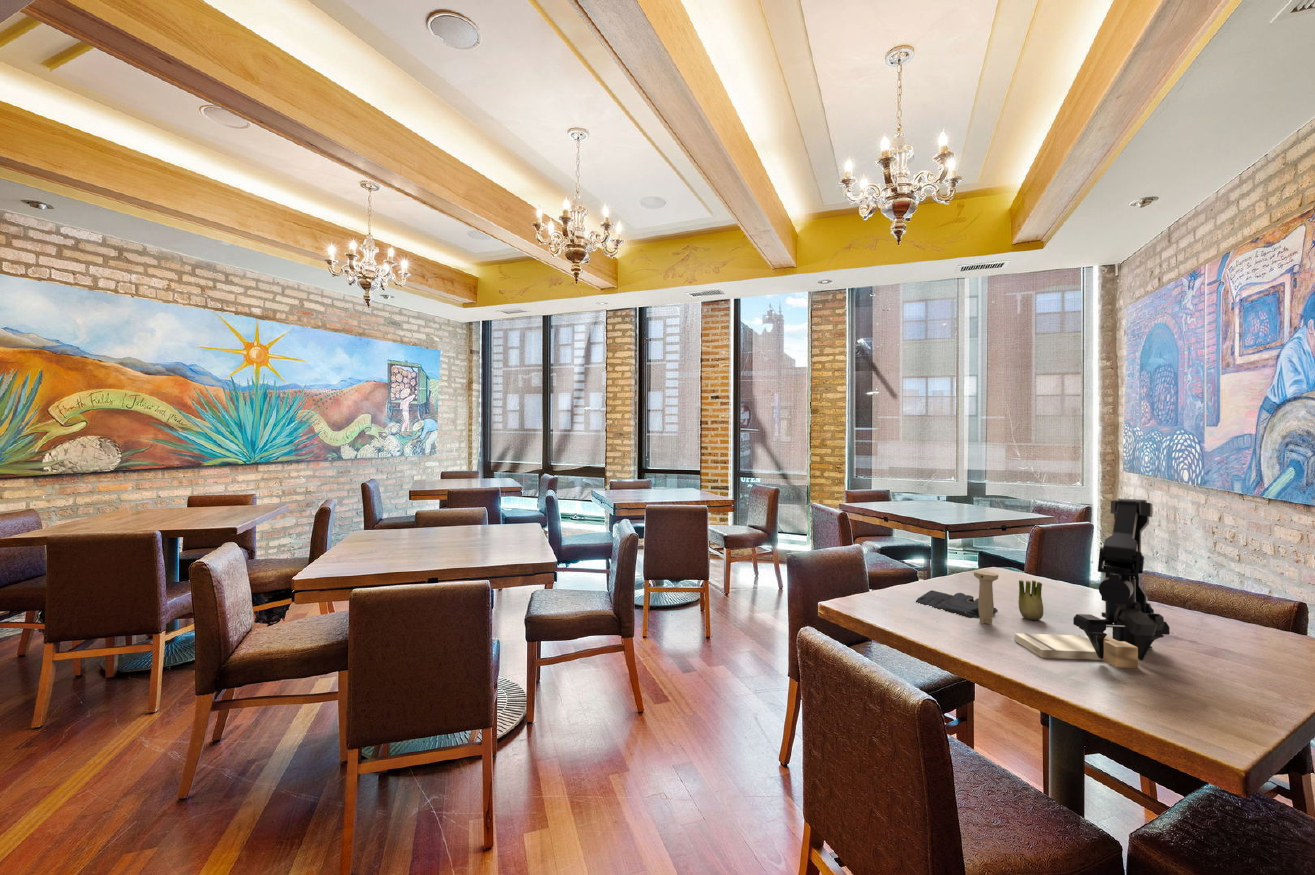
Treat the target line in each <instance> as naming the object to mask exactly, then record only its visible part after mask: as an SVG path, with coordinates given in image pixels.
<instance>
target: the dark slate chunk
mask: <svg viewBox="0 0 1315 875" xmlns="http://www.w3.org/2000/svg"><path fill="white" fill-rule="evenodd" d="M978 600H979V597H977V598H976V599H974V596H973V595H969V594H967V595H966V594H965V593H962V592H957V593H954V595H952V594H949V593H946V592H941V591H936V590H933V589H931V590H929V591H927V592H926V593H924V594H922V595H921V596H920V597H917V599H916V600H915V601H916V602H918V603H917V604H919V603H920V605H922V604H923V606H926V605H929V606H932V607H931V608H933V607H934V608H933V609H936V608H937V609H936V610H940V609H943V610H945V611H944V612H947V611H948V612H947V613H950V614H954V613H956V614H955V615H957V614H959V615H958V616H961V615H962V617H964V616H965V618H969V619H972V618H973V619H974V618H975V619H979V617H980V616H979V609H978V603H979V602H978ZM916 602H915V603H916ZM929 606H928V607H929ZM943 610H942V611H943ZM997 612H998V609H997V608H996V607H994V611H993V615H995V614H996V613H997Z"/></svg>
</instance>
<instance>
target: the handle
mask: <svg viewBox="0 0 1315 875" xmlns="http://www.w3.org/2000/svg"><path fill="white" fill-rule="evenodd" d="M973 576H974V577H975V578H977V579H978V582H979V587H978V588H979V590H978V598H979V600H978V602H979V603H978V609H979V616H980V617H979V618H978V619H979V622H980V623H982V624H984V623H986V624H987V625H991V624H993V616H994V614H993V611H994V608H995V607H994V604H995V603H994V591H993V589H994V588H993V582H994V581H997V580H998V579H999V574H998V573H995V572H992V571H991V572H990V571H986V570H974V571H973ZM990 623H991V624H990ZM986 624H985V625H986Z"/></svg>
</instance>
